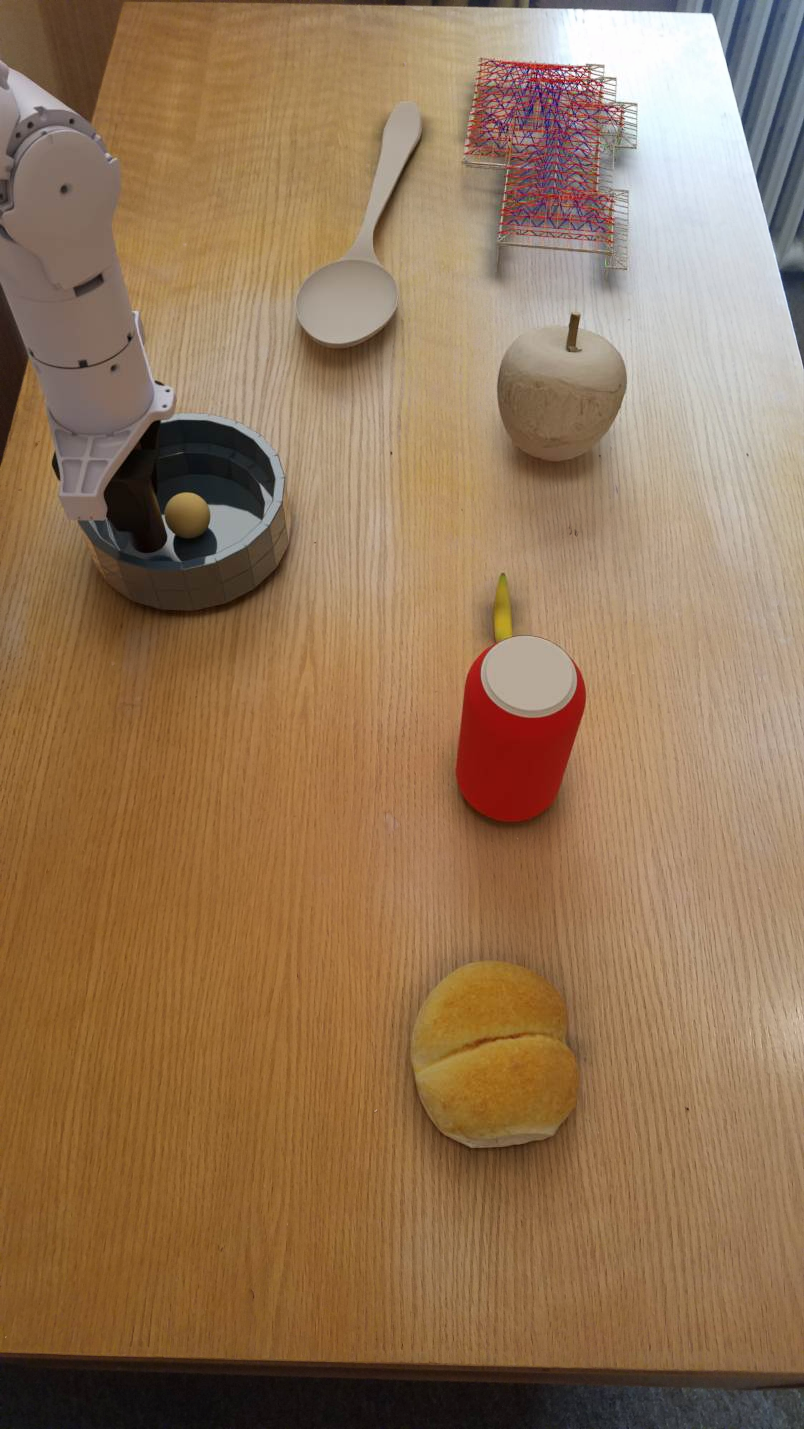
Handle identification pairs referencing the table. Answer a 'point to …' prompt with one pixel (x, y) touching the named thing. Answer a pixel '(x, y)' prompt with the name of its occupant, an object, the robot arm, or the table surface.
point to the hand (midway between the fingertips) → (137, 509)
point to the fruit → (502, 611)
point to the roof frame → (595, 165)
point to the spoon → (361, 255)
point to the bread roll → (494, 1056)
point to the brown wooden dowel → (157, 533)
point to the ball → (187, 515)
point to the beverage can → (518, 727)
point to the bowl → (242, 519)
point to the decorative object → (560, 390)
